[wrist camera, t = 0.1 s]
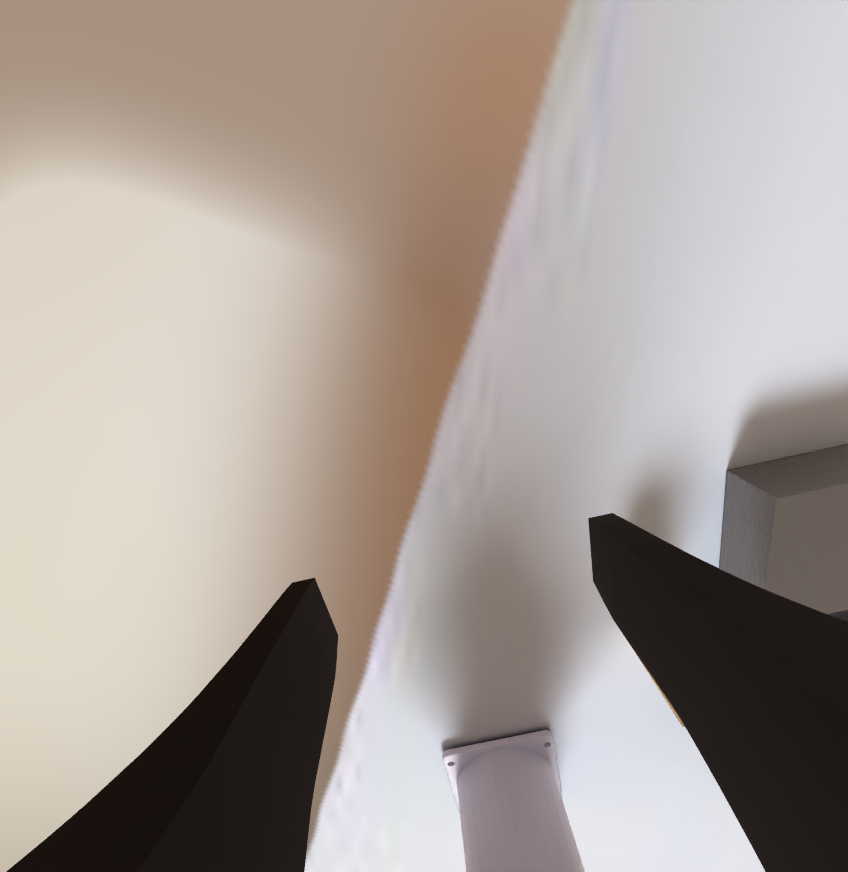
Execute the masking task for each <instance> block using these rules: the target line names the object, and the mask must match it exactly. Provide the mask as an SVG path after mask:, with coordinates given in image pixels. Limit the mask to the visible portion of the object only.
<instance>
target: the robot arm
mask: <svg viewBox="0 0 848 872" xmlns="http://www.w3.org/2000/svg"><path fill="white" fill-rule="evenodd" d="M588 519H589V532H590V545H591V558H592V571H593V581H594V583H595V585H596V587H597V589H598V591H599V593H600V595H601V597H602V599H603V601H604V603H605V605H606V607H607V609H608V610H609V612H610V614H611V616H612V618H613V620H614V621H615V623H616V624H617V626H618V627H619V629H620V630H621V632H622V633H623V635H624V636H625V638H626V639H627V641H628V642H629V644H630V645H631V647H632V648H633V650H634V651H635V652H636V654H637V655H638V657H639V658H640V660H641V661H642V663H643V664H644V666H645V667H646V669H647V670H648V672H649V673H650V675H651V676H652V677H653V679H654V680H655V682H656V683H657V685H658V686H659V688H660V689H661V691H662V692H663V694H664V695H665V697H666V698H667V700H668V701H669V702H670V704H671V705H672V707H673V708H674V710H675V711H676V713H677V715H678V716H679V718H680V719H681V721H682V723H683V724H684V726H685V727H686V729H687V730H688V732H689V734H690V735H691V737H692V739H693V741H694V742H695V744H696V746H697V748H698V750H699V751H700V753H701V755H702V757H703V758H704V760H705V762H706V764H707V765H708V767H709V769H710V771H711V772H712V774H713V776H714V778H715V779H716V781H717V783H718V785H719V787H720V788H721V790H722V792H723V794H724V796H725V797H726V799H727V801H728V803H729V805H730V807H731V808H732V810H733V812H734V814H735V816H736V818H737V819H738V821H739V823H740V825H741V827H742V829H743V830H744V832H745V834H746V836H747V838H748V839H749V841H750V843H751V845H752V847H753V849H754V851H755V852H756V854H757V856H758V858H759V860H760V862H761V864H762V866H763V868H764V869H765V871H766V872H848V622H847V621H844V620H842V619H839V618H836V617H833V616H831V615H828V614H825V613H823V612H820V611H817V610H815V609H812V608H810V607H807V606H805V605H802V604H800V603H797V602H795V601H792V600H790V599H787V598H785V597H782V596H780V595H777V594H775V593H772V592H770V591H768V590H765V589H763V588H760V587H758V586H756V585H754V584H751V583H749V582H747V581H745V580H743V579H740V578H738V577H736V576H734V575H732V574H730V573H727V572H725V571H723V570H721V569H719V568H717V567H715V566H713V565H710V564H708V563H706V562H704V561H702V560H700V559H698V558H696V557H694V556H692V555H690V554H688V553H686V552H684V551H683V550H681V549H679V548H677V547H675V546H673V545H671V544H669V543H667V542H665V541H663V540H662V539H660V538H658V537H656V536H654V535H652V534H650V533H649V532H647V531H645V530H643V529H641V528H639V527H638V526H636V525H634V524H632V523H630V522H628V521H626V520H625V519H623V518H621V517H619V516H617V515H615V514H613V513H611V514H606V515H601V516H597V517H592V518H588ZM337 644H338V634H337V631H336V629H335V627H334V624H333V622H332V619H331V617H330V614H329V612H328V609H327V607H326V605H325V602H324V600H323V597H322V595H321V592H320V590H319V588H318V585H317V583H316V580H315V578H312V579H307V580H303V581H298V582H293V583H292V584H291V585H290V586H289V587H288V588H287V589H286V591H285V592H284V593H283V594H282V595H281V597H280V598H279V599H278V600H277V601H276V603H275V604H274V605H273V607H272V608H271V609H270V610H269V612H268V613H267V614H266V615H265V617H264V618H263V619H262V620H261V622H260V623H259V624H258V625H257V627H256V628H255V629H254V630H253V632H252V633H251V634H250V635H249V636H248V638H247V639H246V640H245V641H244V642H243V644H242V645H241V646H240V647H239V649H238V650H237V651H236V652H235V653H234V655H233V656H232V657H231V658H230V659H229V660H228V662H227V663H226V664H225V665H224V666H223V667H222V668H221V670H220V671H219V672H218V673H217V674H216V675H215V677H214V678H213V679H212V680H211V681H210V682H209V683H208V685H207V686H206V687H205V688H204V689H203V690H202V691H201V693H200V694H199V695H198V696H197V697H196V698H195V699H194V700H193V701H192V703H191V704H190V705H189V706H188V707H187V708H186V709H185V710H184V711H183V712H182V713H181V714H180V715H179V716H178V717H177V718H176V719H175V720H174V721H173V722H172V723H171V724H170V725H169V727H168V728H166V729H165V731H163V732H162V733H161V735H159V736H158V737H157V739H156V740H155V741H153V743H151V745H149V746H148V748H146V749H145V750H144V751H143V752H142V753H141V754H140V755H139V756H138V757H137V758H136V759H135V760H134V761H133V762H132V763H130V764H129V765H128V766H127V767H126V768H125V769H124V770H123V771H122V772H121V773H120V774H119V775H118V776H117V777H115V778H114V779H113V780H112V781H111V782H110V783H109V784H108V785H107V786H106V787H104V789H102V790H101V791H100V792H99V793H98V794H97V795H96V796H95V797H94V798H92V800H91V801H89V802H88V803H87V804H86V805H85V806H84V807H83V808H82V809H80V810H79V811H78V812H77V813H76V814H75V815H73V816H72V817H71V818H70V819H69V820H68V821H66V822H65V823H64V824H63V825H62V826H61V827H60V828H58V829H57V830H56V831H55V832H54V833H53V834H51V835H50V836H49V837H48V838H47V839H45V840H44V841H43V842H42V843H41V844H39V845H38V846H37V847H36V848H35V849H33V850H32V851H31V852H30V853H28V854H27V855H26V856H25V857H24V858H22V859H21V860H20V861H19V862H18V863H16V864H15V865H14V866H13V867H12V868H10V869H9V870H8V871H7V872H304V868H305V859H306V850H307V840H308V831H309V822H310V813H311V805H312V799H313V792H314V786H315V780H316V775H317V770H318V765H319V759H320V754H321V749H322V743H323V739H324V734H325V729H326V723H327V718H328V713H329V708H330V702H331V697H332V691H333V685H334V680H335V672H336V660H337ZM442 756H443V762H444V765H445V768H446V772H447V775H448V778H449V781H450V784H451V787H452V790H453V793H454V796H455V799H456V803H457V806H458V809H459V812H460V818H461V827H462V836H463V845H464V854H465V863H466V872H585V871H584V868H583V865H582V861H581V858H580V855H579V852H578V849H577V845H576V842H575V839H574V836H573V833H572V830H571V826H570V823H569V820H568V817H567V814H566V810H565V807H564V804H563V800H562V793H561V786H560V780H559V773H558V766H557V759H556V753H555V746H554V739H553V736H552V733H551V732H550V731H548V730H543V731H538V732H533V733H528V734H523V735H518V736H513V737H508V738H503V739H498V740H493V741H488V742H483V743H478V744H473V745H468V746H463V747H458V748H453V749H448V750H445V751H444V752H443V754H442Z"/></svg>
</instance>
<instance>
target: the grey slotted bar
mask: <svg viewBox="0 0 848 872" xmlns="http://www.w3.org/2000/svg"><path fill="white" fill-rule="evenodd" d="M719 569H721V570H723V571H725V572H727V573H730V574H732V575H734V576H736V577H738V578H740V579H743V580H745V581H747V582H749V583H751V584H754V585H756V586H758V587H760V588H763V589H765V590H768V591H770V592H772V593H775V594H777V595H780V596H782V597H785V598H787V599H790V600H792V601H795V602H797V603H800V604H802V605H805V606H807V607H810V608H812V609H815V610H817V611H820V612H823V613H825V614H828V615H831V616H833V617H836V618H839V619H842V620H844V621H847V622H848V444H847V445H842V446H838V447H833V448H828V449H824V450H819V451H815V452H810V453H805V454H801V455H796V456H791V457H787V458H782V459H778V460H773V461H768V462H764V463H759V464H755V465H750V466H745V467H741V468H736V469H732V470H727V476H726V489H725V502H724V515H723V529H722V542H721V555H720V568H719Z"/></svg>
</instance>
